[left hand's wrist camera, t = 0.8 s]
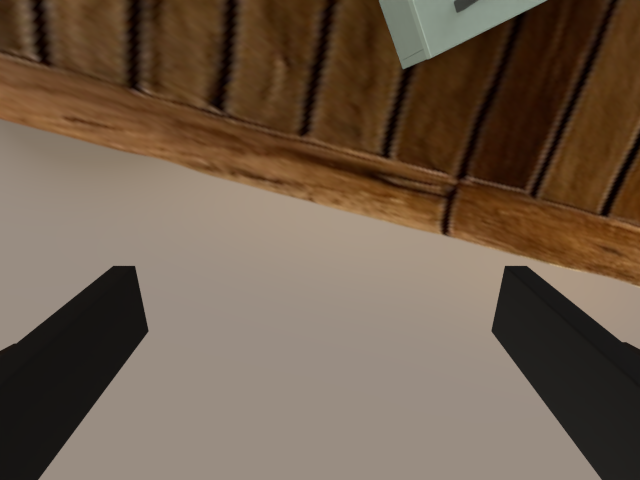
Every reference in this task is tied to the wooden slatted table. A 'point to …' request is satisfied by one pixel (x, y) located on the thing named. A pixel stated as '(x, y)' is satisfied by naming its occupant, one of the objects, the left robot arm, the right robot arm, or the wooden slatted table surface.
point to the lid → (461, 19)
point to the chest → (403, 31)
